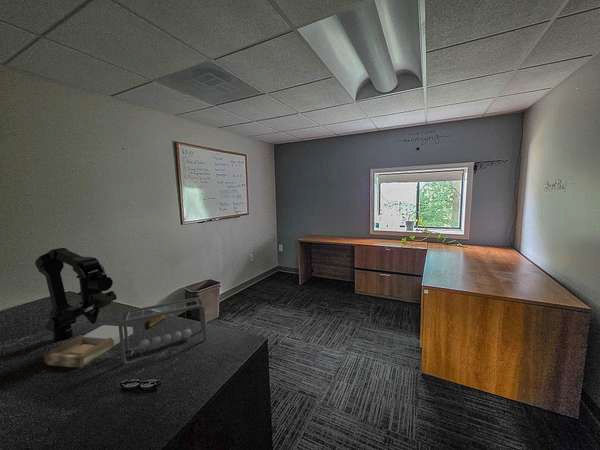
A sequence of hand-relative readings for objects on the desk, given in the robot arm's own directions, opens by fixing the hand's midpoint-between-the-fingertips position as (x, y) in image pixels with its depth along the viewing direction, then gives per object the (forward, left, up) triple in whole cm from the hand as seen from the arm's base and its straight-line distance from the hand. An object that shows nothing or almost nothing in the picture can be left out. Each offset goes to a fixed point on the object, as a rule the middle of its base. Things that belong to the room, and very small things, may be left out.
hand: (93, 323), depth 104 cm
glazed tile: (0, -5, -8) cm, 10 cm away
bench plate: (0, +6, -10) cm, 12 cm away
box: (0, -6, -10) cm, 12 cm away
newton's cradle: (+32, +3, -11) cm, 34 cm away
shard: (+15, +20, -11) cm, 27 cm away
